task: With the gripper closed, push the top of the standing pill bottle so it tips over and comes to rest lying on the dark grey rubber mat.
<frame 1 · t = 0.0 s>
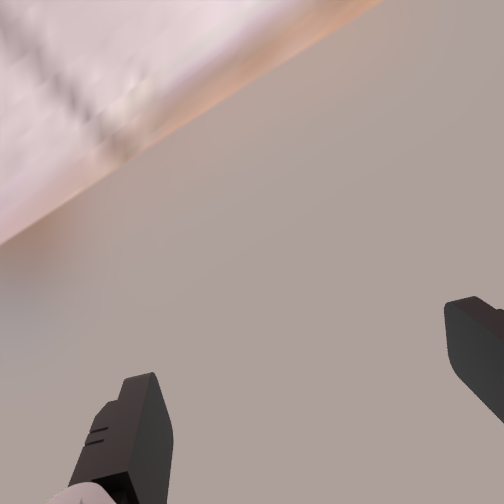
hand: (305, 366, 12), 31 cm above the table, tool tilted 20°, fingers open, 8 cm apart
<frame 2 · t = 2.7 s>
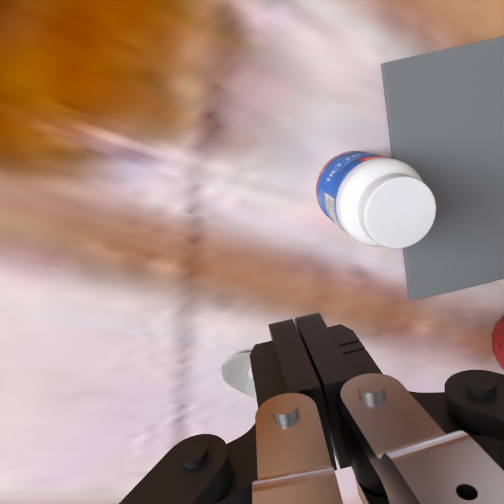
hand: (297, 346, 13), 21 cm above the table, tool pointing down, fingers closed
pill bottle: (348, 187, 33), on the table
spoon: (328, 394, 39), on the table
onion: (502, 324, 38), on the table
mat: (466, 173, 34), on the table
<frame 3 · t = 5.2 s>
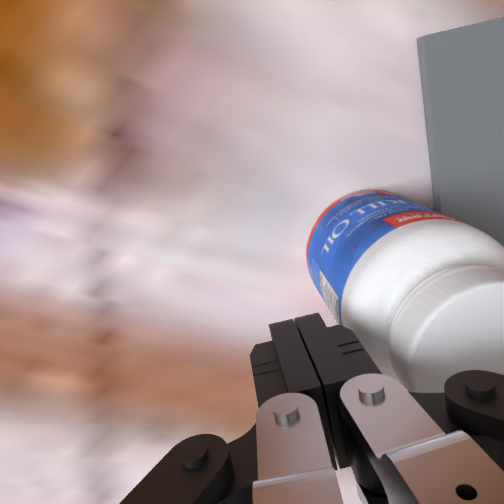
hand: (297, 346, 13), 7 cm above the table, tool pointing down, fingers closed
pill bottle: (360, 246, 20), on the table, touching gripper
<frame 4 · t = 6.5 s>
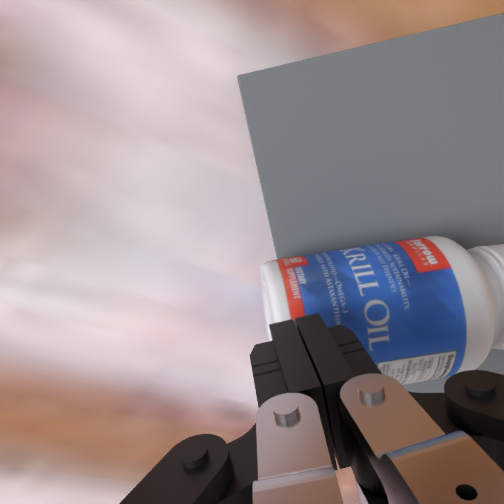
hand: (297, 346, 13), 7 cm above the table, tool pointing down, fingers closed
pill bottle: (265, 333, 17), point 3 cm above the table, touching mat
mat: (400, 256, 20), on the table
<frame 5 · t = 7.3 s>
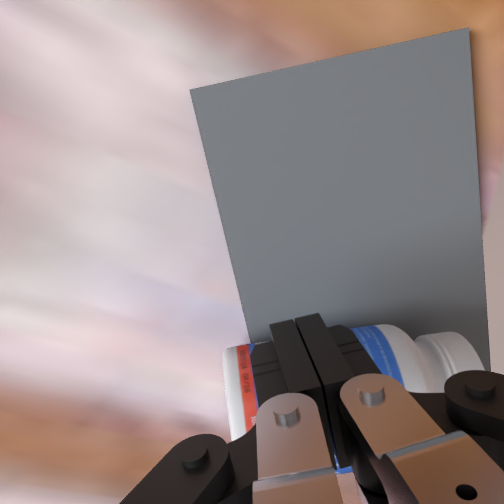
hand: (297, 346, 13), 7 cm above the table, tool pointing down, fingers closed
pill bottle: (225, 418, 18), point 3 cm above the table, touching mat
mat: (358, 270, 20), on the table
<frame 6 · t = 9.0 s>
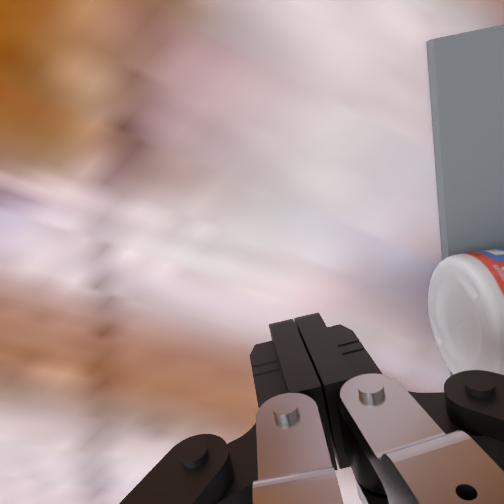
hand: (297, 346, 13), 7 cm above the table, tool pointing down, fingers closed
pill bottle: (451, 325, 18), point 3 cm above the table, touching mat
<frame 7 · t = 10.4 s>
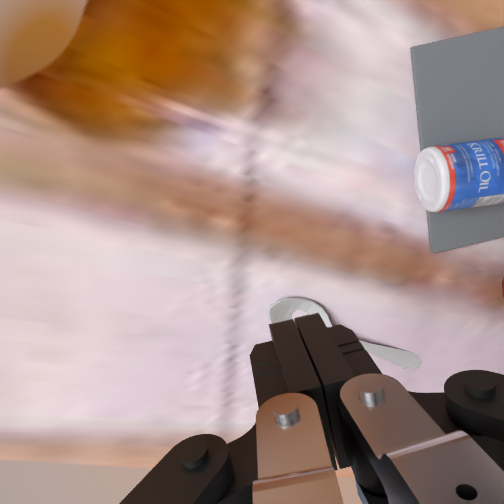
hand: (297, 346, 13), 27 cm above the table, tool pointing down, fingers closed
pill bottle: (424, 181, 37), point 3 cm above the table, touching mat
spoon: (358, 338, 45), on the table
mat: (480, 142, 39), on the table
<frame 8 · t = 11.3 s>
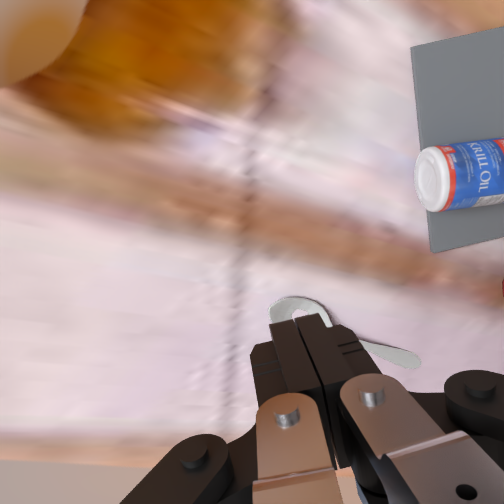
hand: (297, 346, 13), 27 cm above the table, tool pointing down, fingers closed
pill bottle: (424, 181, 37), point 3 cm above the table, touching mat
spoon: (358, 338, 45), on the table
mat: (480, 142, 39), on the table
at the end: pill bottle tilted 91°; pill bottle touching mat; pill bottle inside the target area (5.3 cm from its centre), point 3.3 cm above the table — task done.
